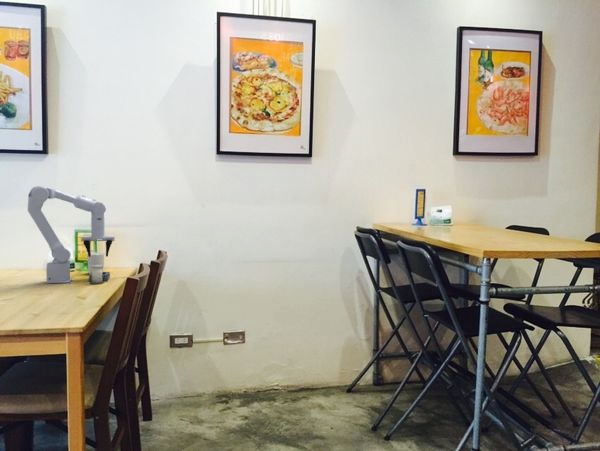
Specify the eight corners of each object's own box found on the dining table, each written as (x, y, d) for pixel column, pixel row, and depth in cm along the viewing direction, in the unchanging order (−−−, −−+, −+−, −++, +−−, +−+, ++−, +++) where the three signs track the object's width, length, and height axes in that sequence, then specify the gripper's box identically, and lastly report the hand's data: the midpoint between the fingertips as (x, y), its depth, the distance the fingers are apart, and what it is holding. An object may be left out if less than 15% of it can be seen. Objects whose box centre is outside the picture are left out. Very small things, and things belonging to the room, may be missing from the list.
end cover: (90, 283, 226) (90, 266, 225) (92, 280, 231) (92, 264, 230) (102, 282, 227) (102, 266, 226) (103, 280, 232) (103, 264, 231)
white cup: (87, 272, 253) (86, 252, 252) (103, 271, 256) (103, 252, 256) (87, 275, 246) (87, 255, 245) (105, 274, 249) (104, 254, 248)
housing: (89, 281, 231) (88, 275, 231) (91, 278, 239) (91, 272, 238) (107, 281, 233) (107, 274, 233) (109, 277, 240) (109, 271, 240)
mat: (89, 284, 225) (89, 283, 225) (91, 281, 231) (91, 280, 231) (103, 284, 226) (103, 283, 226) (105, 281, 232) (105, 280, 232)
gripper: (79, 228, 232) (80, 257, 233) (113, 228, 235) (113, 257, 236) (82, 227, 238) (82, 255, 240) (115, 227, 242) (115, 255, 243)
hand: (98, 256), depth 238 cm, fingers open, 7 cm apart
